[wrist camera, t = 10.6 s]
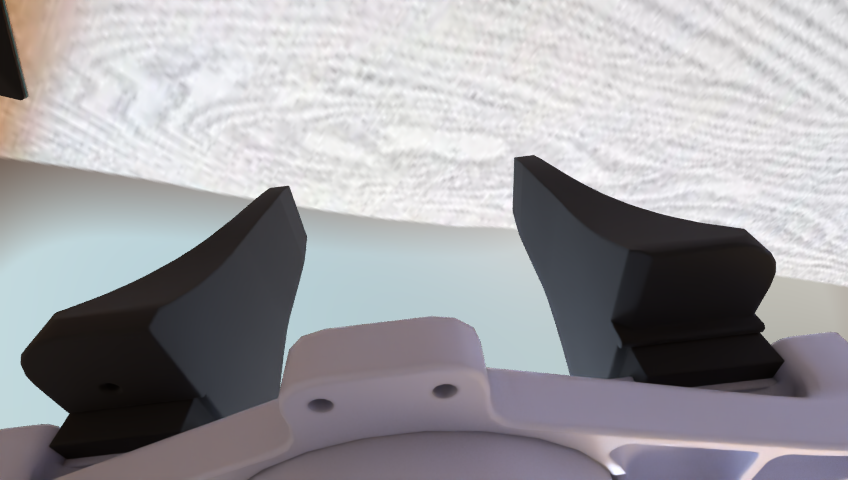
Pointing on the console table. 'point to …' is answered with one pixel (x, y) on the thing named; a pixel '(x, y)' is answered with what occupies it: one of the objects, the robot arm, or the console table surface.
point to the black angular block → (10, 60)
